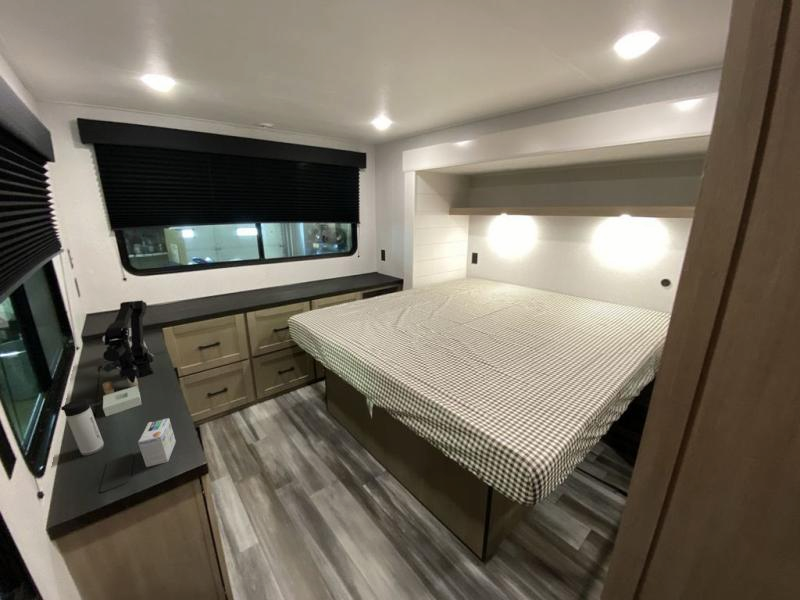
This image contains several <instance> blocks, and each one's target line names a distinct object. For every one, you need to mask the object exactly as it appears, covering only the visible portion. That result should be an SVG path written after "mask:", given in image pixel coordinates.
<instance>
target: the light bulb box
mask: <svg viewBox="0 0 800 600" xmlns="http://www.w3.org/2000/svg"><path fill="white" fill-rule="evenodd" d="M176 442H177V440H176V438H175V434H174V430H173V428H172V424H171V420H170V418H168V417H167V418H163V419H158V420H155V421H149V422H148V423H147V424H146V426H145V429H144V431H143V432H142V434H141V436H140V438H139V440H138V441H137V444H138V447H139V449H140V453H141V455H142V456H141V457H143V461H144V464H145V467H146V468H149V467H153V466H156V465H161V464H164V463H168V462H169V460H170V457H171V455H172V452H173V450H174V447H175V445H176Z"/></svg>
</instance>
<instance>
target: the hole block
mask: <svg viewBox="0 0 800 600" xmlns="http://www.w3.org/2000/svg"><path fill="white" fill-rule="evenodd" d="M114 392H115V391H114ZM141 398H142V397H141V392H140V389H139V387H138V386H134V387H131V388H130V387H128V388H125V389H122V390H118V391H116V392H115V393H111V394H108V395H106V394H105V395H103V397H102V399H103V400H102V410H103V412H104V415H105V417H108V416H111V415H115V414H118V413H121V412H123V411H126V410H129V409H132V408H135V407H138V406H142V399H141Z"/></svg>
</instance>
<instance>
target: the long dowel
mask: <svg viewBox="0 0 800 600" xmlns="http://www.w3.org/2000/svg"><path fill="white" fill-rule="evenodd" d="M126 379H127V381H128V385H129V388H131V387H134V386H138V388H139V385H140V384H139V382H138V381H139V380H138V377H137V376H136V377H135V381H134V382H133V383H131V381H130V380H129V379H128V377H127V376H126Z"/></svg>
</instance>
